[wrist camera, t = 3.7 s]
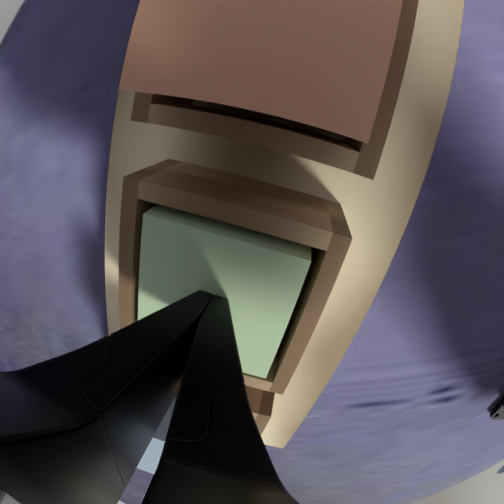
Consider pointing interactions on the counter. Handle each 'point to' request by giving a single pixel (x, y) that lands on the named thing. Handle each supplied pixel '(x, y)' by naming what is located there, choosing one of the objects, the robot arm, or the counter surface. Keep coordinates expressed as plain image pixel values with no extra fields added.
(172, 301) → the sage key
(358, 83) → the terracotta key
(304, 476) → the counter surface
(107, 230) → the beige wooden block tray
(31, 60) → the counter surface
